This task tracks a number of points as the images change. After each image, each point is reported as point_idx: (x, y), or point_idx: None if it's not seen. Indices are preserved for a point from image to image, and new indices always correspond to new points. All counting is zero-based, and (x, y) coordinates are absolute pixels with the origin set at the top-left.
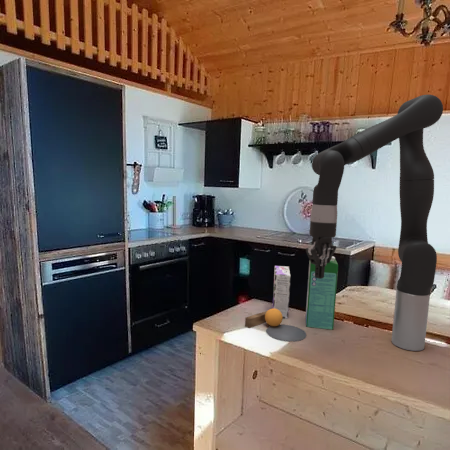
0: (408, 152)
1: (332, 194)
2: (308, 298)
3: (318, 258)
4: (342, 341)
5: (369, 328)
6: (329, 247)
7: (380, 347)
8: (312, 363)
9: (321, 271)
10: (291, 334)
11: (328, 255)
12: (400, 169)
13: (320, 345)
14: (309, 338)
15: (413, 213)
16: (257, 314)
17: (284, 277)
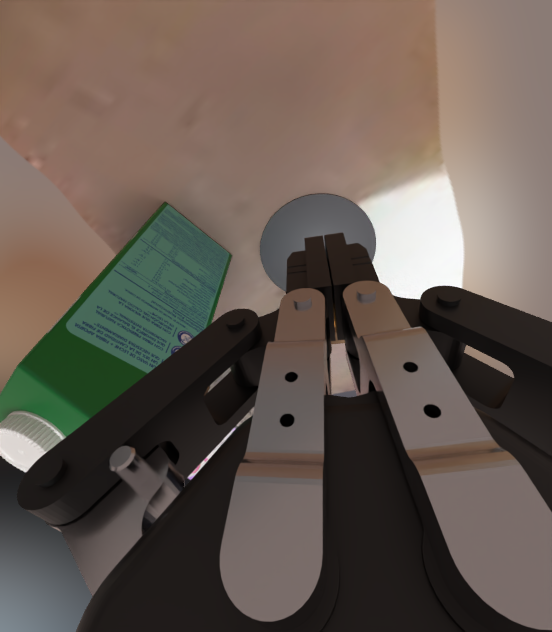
0: None
1: None
2: (215, 307)
3: (499, 340)
4: (195, 114)
5: (22, 147)
6: (284, 489)
7: None
8: (433, 26)
9: (349, 260)
10: (314, 234)
11: (279, 362)
12: None
13: (291, 131)
14: (283, 190)
15: None
16: (338, 341)
17: (242, 419)
